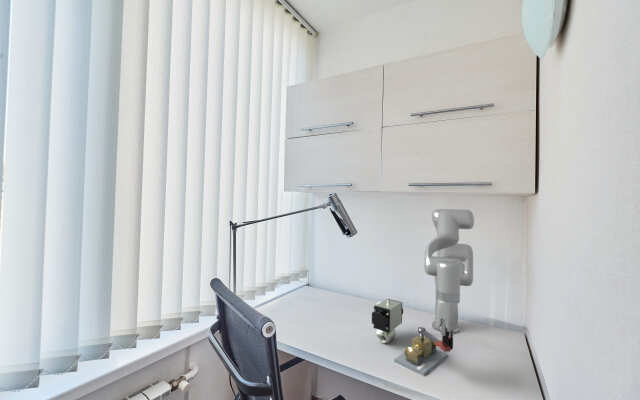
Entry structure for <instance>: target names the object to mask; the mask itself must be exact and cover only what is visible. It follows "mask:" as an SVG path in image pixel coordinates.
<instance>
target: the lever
mask: <svg viewBox="0 0 640 400" xmlns="http://www.w3.org/2000/svg"><path fill="white" fill-rule="evenodd" d="M417 332H418V334H419V333H421V334H423V335H424V337H425V336H426V337H427V338H428V339H430V340H431V341H432V342H434V343H435V345H436V346H437V347H438V348H439V349H440V350H442V352H444V353H446V352H451V350H450V347H449V346H448V345H446V344H445V343H444V342H442V340H440V339H438V338H437V337H435V336H434V335H433V334H431V333H430V332H429V331H427V329H426V328H425V327H423V326H419V327H418V328H417Z"/></svg>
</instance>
